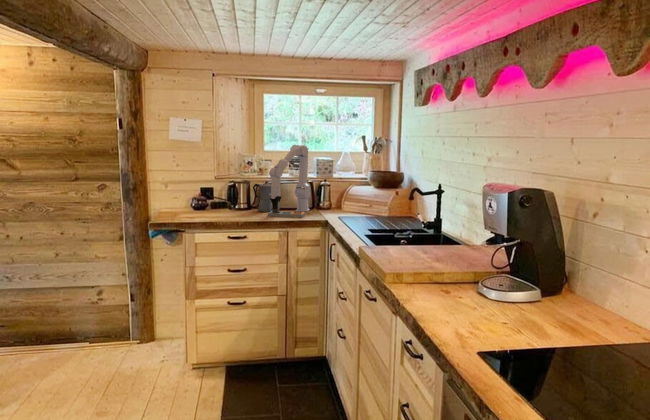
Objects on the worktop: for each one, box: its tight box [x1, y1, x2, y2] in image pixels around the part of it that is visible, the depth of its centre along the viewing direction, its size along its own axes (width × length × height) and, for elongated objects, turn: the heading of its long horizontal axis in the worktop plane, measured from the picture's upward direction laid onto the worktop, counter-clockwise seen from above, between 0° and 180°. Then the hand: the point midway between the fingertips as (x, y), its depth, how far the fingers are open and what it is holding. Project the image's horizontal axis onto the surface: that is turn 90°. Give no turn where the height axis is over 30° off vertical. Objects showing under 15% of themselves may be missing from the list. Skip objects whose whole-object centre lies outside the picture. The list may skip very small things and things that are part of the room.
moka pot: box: [252, 180, 272, 213], centre depth 317 cm, size 10×15×20 cm, turn 89°
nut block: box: [271, 201, 280, 213], centre depth 302 cm, size 4×4×8 cm
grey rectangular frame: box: [267, 210, 306, 218], centre depth 302 cm, size 8×22×2 cm, turn 82°
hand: (275, 208), depth 302 cm, fingers closed on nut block, 4 cm apart
